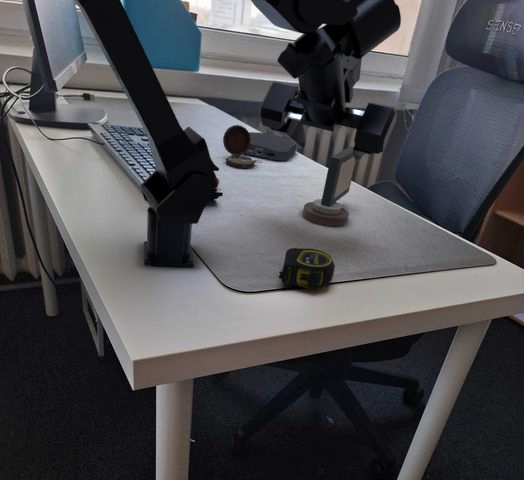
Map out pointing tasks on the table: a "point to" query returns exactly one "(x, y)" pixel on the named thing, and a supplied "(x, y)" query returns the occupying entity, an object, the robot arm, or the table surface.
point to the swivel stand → (325, 216)
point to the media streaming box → (270, 146)
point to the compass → (238, 147)
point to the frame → (336, 182)
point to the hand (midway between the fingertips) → (330, 152)
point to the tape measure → (307, 268)
